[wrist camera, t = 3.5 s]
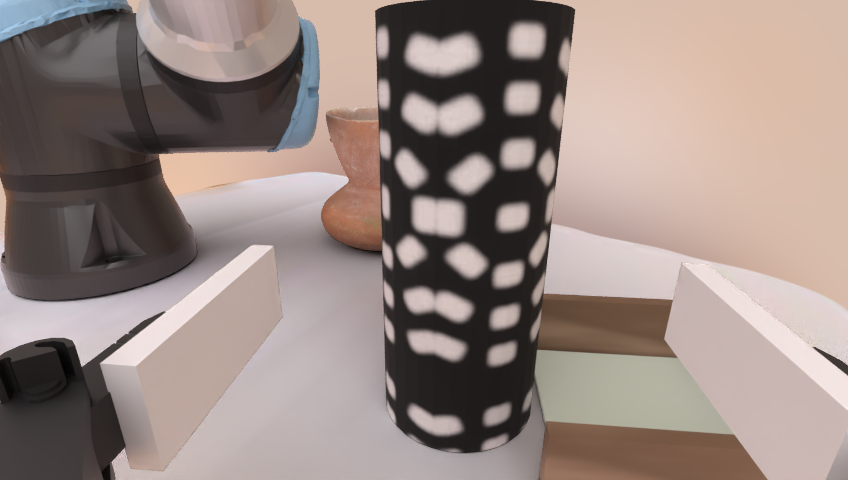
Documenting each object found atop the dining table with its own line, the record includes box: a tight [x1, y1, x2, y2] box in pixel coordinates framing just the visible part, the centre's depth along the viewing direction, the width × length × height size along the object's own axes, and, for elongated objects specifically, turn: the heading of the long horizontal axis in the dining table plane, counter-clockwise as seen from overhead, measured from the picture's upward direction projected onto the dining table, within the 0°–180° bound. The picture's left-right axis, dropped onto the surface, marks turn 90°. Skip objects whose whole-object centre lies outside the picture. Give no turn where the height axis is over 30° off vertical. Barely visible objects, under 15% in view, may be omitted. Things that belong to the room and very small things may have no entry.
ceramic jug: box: [321, 107, 382, 251], centre depth 48 cm, size 18×14×14 cm
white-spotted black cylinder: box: [375, 0, 575, 453], centre depth 22 cm, size 8×8×20 cm
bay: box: [534, 294, 768, 480], centre depth 24 cm, size 13×13×4 cm
